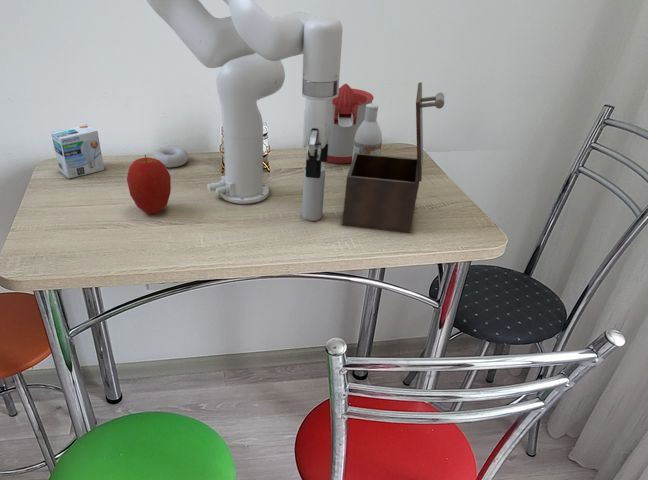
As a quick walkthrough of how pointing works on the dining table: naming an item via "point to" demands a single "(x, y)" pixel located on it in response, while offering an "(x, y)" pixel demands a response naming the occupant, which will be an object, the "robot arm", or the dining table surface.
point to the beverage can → (313, 196)
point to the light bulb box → (78, 151)
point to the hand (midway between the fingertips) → (316, 168)
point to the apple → (149, 184)
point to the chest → (381, 192)
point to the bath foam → (368, 133)
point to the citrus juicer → (346, 122)
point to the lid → (419, 123)
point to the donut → (171, 156)
